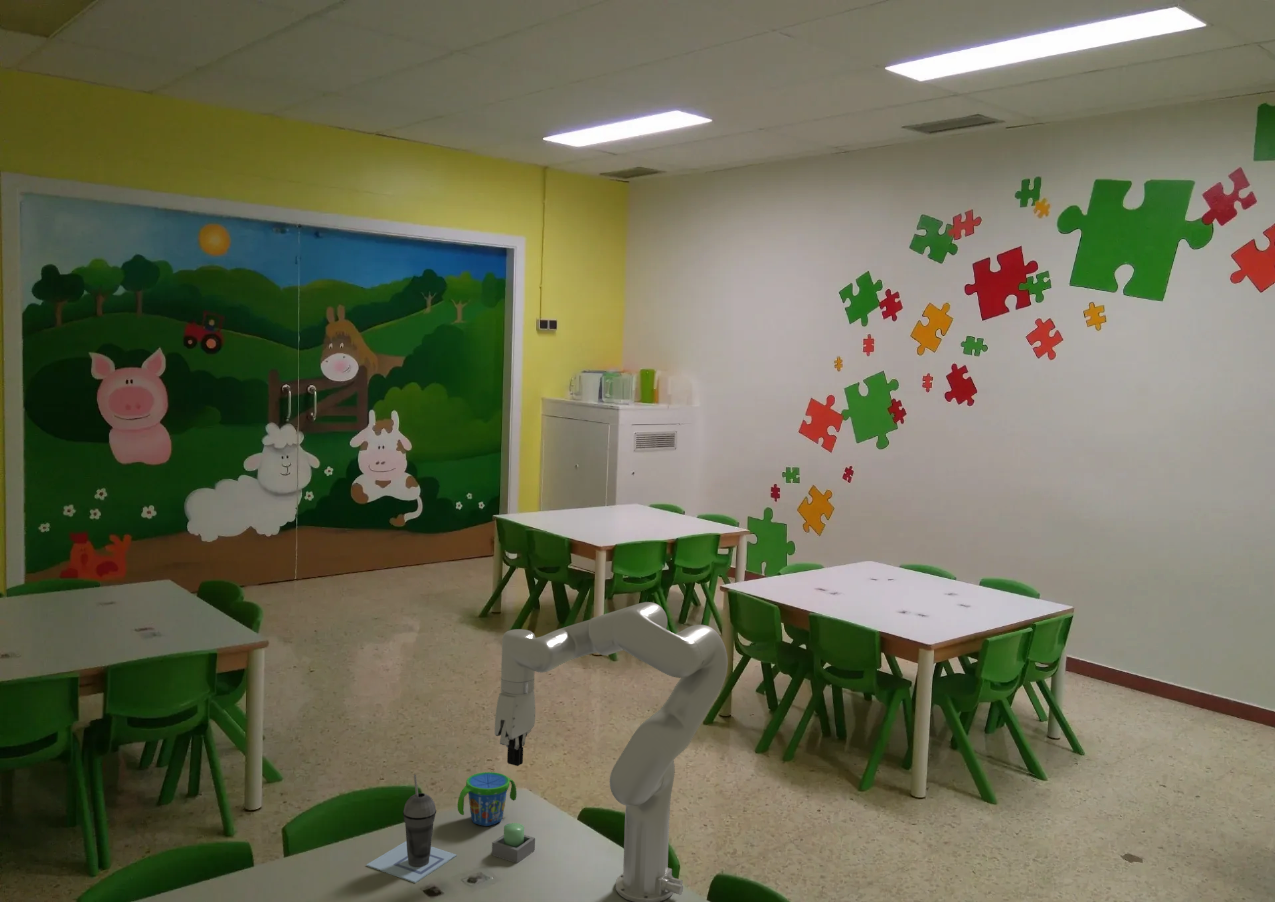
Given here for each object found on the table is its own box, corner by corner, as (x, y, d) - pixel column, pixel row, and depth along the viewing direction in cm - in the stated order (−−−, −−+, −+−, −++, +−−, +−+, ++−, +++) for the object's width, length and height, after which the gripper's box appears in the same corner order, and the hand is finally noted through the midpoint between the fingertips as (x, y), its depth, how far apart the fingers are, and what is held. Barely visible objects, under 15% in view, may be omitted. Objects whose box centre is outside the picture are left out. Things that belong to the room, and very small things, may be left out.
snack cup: (506, 805, 249) (507, 766, 249) (525, 821, 241) (526, 781, 240) (448, 818, 241) (449, 778, 240) (466, 836, 232) (467, 794, 231)
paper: (456, 856, 222) (456, 854, 222) (415, 883, 210) (415, 881, 210) (409, 840, 229) (409, 839, 229) (366, 865, 217) (366, 864, 217)
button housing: (534, 850, 226) (535, 838, 226) (517, 863, 220) (517, 850, 220) (509, 842, 230) (510, 830, 229) (491, 855, 223) (492, 842, 223)
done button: (527, 842, 226) (528, 826, 225) (516, 851, 222) (516, 834, 221) (511, 837, 228) (511, 821, 227) (499, 846, 224) (499, 829, 223)
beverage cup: (431, 871, 215) (432, 782, 213) (398, 869, 215) (399, 781, 213) (438, 854, 222) (440, 769, 220) (406, 853, 222) (408, 767, 221)
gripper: (522, 673, 230) (520, 749, 232) (483, 690, 217) (481, 771, 218) (549, 679, 227) (546, 756, 228) (511, 697, 213) (509, 778, 215)
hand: (514, 763), depth 223 cm, fingers closed
